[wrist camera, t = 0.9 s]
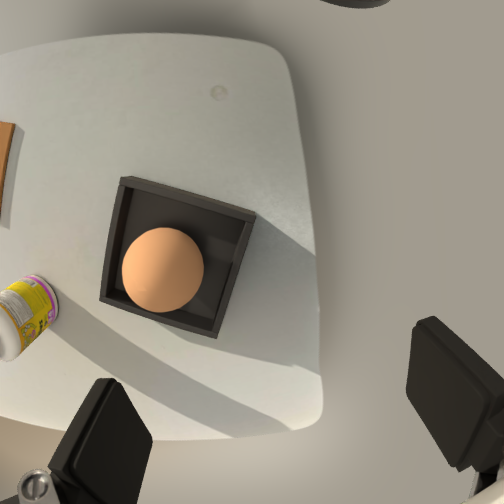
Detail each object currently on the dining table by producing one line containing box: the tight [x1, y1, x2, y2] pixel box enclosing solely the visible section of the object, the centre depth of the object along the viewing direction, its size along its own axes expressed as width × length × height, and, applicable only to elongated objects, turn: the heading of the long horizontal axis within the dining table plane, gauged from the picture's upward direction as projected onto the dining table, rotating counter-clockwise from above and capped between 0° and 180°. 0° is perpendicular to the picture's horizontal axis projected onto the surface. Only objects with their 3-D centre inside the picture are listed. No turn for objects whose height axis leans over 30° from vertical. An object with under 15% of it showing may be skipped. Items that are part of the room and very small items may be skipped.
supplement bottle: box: [0, 275, 58, 362], centre depth 23 cm, size 7×7×13 cm
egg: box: [122, 228, 204, 312], centre depth 24 cm, size 7×7×9 cm
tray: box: [99, 176, 256, 339], centre depth 27 cm, size 12×12×3 cm
